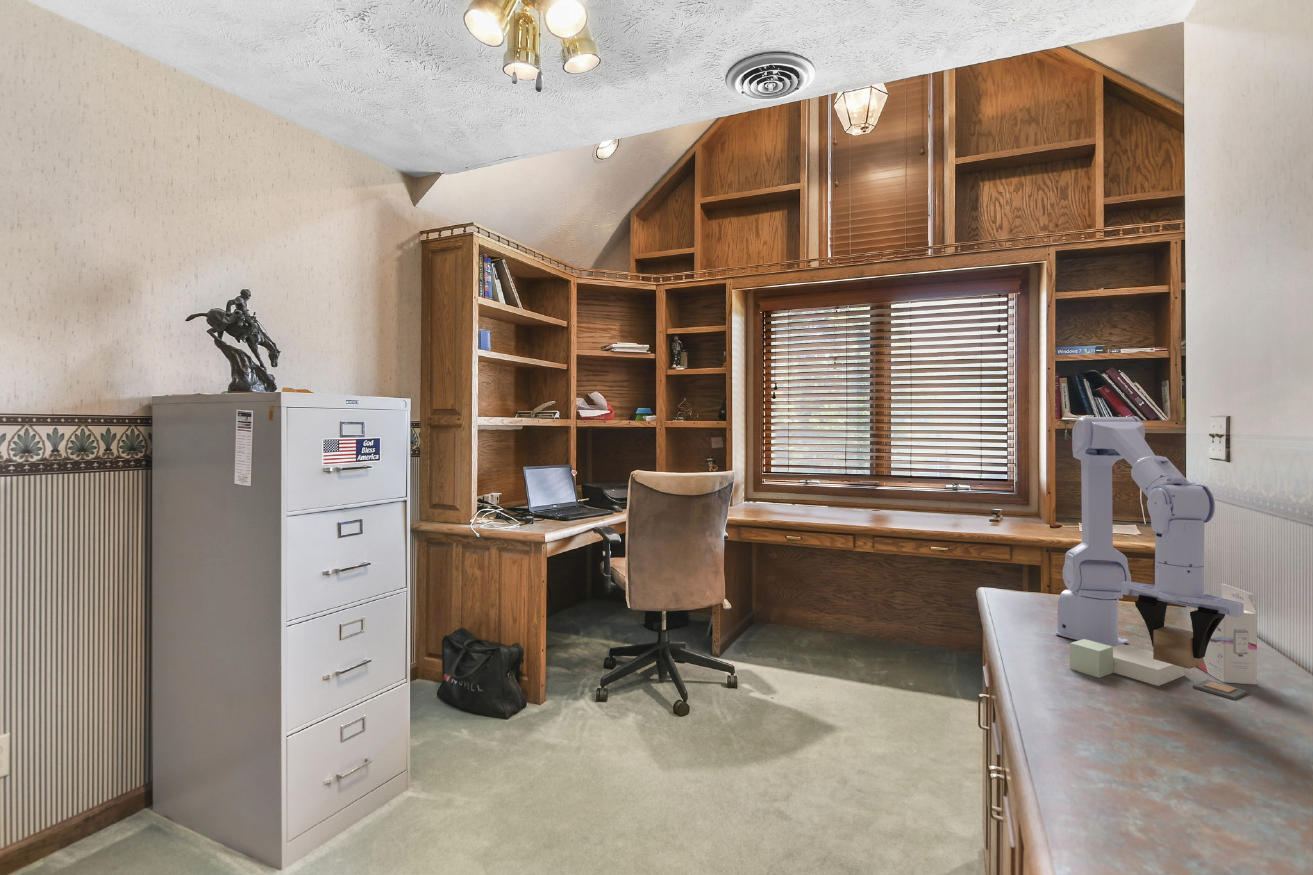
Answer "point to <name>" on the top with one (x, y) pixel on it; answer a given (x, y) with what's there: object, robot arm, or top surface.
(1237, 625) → the ink cartridge box
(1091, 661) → the sage block
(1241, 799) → the top surface
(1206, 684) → the tile
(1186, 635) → the walnut block
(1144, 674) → the base block
